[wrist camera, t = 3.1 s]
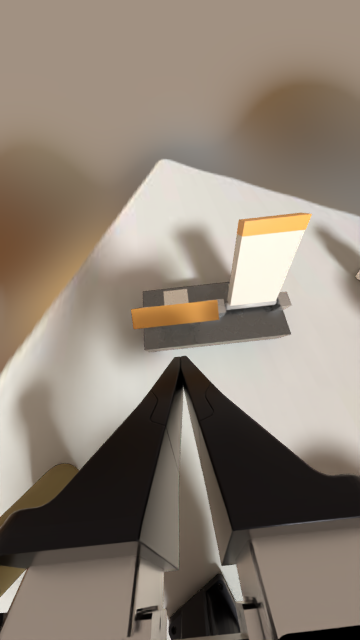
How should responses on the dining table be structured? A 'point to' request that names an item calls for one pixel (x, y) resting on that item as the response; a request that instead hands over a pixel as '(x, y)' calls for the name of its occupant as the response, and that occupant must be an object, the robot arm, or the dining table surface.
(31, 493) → the pepper shaker
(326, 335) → the dining table surface
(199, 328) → the light switch frame
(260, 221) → the white orange-topped slab
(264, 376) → the dining table surface
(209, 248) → the dining table surface
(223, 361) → the dining table surface
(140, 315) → the panel
